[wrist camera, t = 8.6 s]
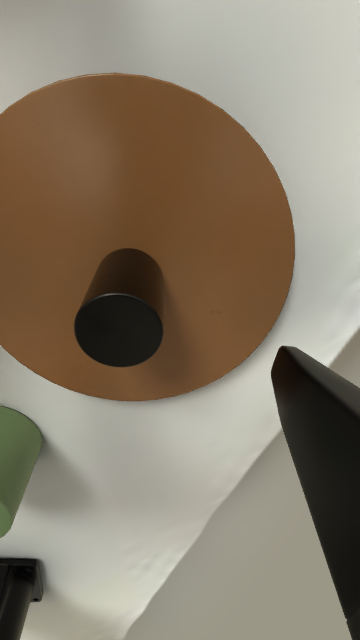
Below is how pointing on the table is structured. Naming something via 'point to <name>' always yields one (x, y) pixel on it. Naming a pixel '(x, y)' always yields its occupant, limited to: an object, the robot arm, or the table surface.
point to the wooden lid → (136, 237)
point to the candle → (15, 461)
